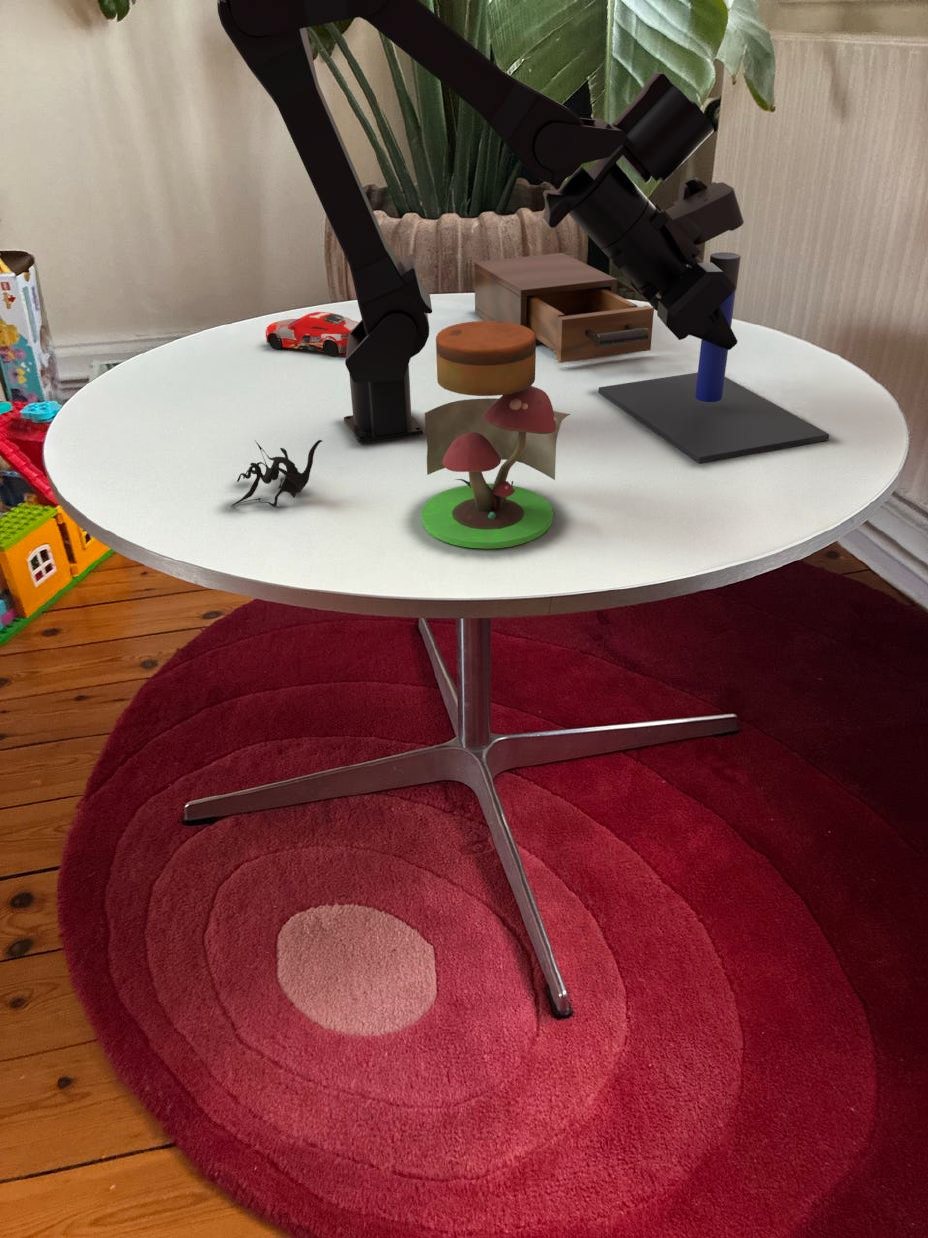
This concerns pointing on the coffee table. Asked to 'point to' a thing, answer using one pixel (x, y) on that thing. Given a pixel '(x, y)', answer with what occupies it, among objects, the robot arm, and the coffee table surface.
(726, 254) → the marker
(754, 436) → the desk mat
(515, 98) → the robot arm
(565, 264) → the cabinet
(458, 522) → the mushroom figurine
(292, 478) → the creature
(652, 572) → the coffee table surface
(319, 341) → the race car
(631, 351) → the drawer
